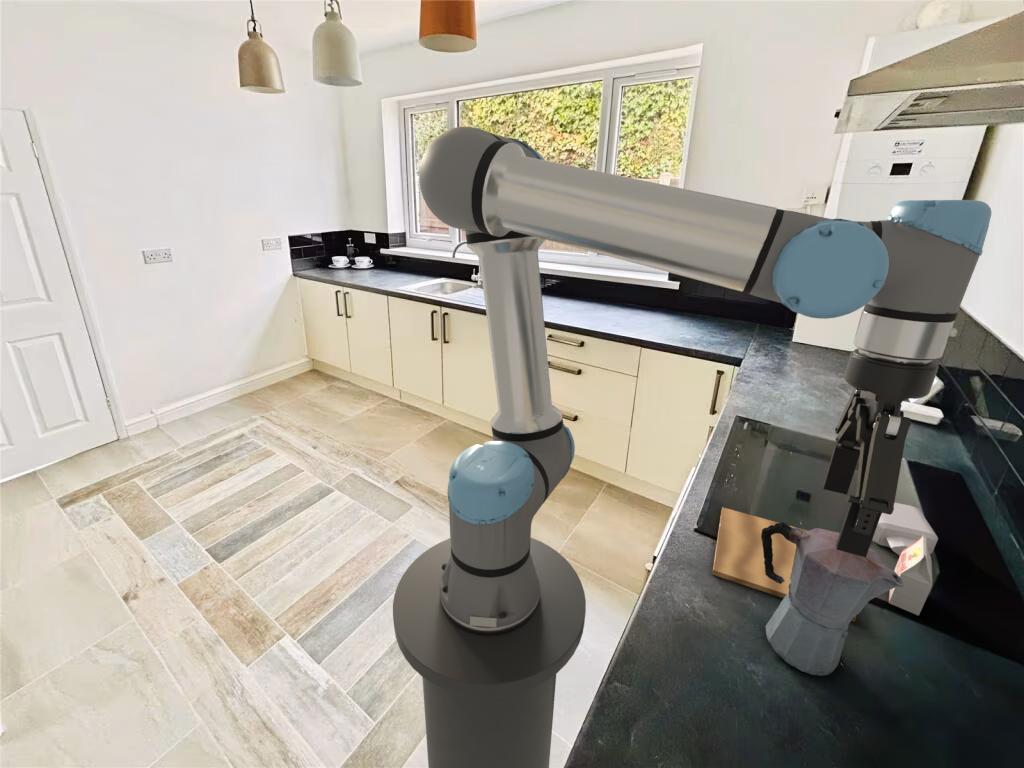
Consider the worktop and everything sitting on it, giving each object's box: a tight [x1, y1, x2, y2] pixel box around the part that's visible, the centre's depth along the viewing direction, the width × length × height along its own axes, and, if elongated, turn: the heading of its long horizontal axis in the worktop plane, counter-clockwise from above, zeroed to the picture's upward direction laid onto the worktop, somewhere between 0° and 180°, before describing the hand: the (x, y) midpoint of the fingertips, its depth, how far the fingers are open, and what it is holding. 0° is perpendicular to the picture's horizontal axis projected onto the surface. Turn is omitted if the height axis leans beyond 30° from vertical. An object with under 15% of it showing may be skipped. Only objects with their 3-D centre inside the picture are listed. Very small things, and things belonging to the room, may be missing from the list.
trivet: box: [711, 506, 857, 623], centre depth 81 cm, size 20×20×1 cm
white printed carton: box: [888, 535, 933, 617], centre depth 72 cm, size 4×7×10 cm, turn 140°
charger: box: [872, 501, 939, 559], centre depth 84 cm, size 5×9×15 cm
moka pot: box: [761, 521, 904, 677], centre depth 61 cm, size 10×15×20 cm, turn 53°
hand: (841, 518), depth 57 cm, fingers open, 13 cm apart
